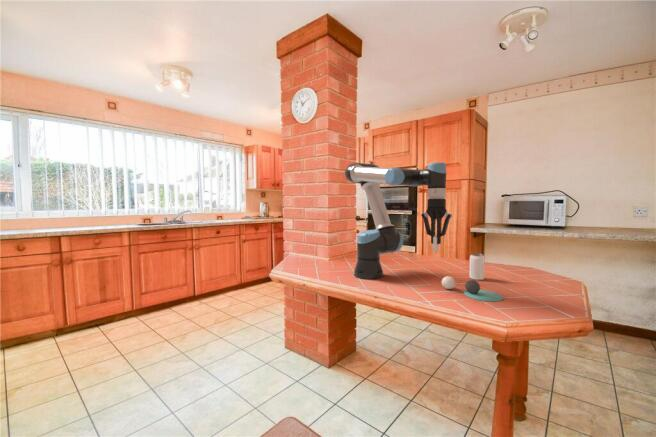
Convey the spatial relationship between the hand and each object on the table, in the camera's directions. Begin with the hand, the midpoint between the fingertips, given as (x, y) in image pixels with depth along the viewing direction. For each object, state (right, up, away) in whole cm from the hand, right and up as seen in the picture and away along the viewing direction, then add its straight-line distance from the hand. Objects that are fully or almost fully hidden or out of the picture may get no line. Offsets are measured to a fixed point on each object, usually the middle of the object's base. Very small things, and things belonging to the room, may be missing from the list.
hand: (435, 251), depth 122 cm
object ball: (+12, -14, -9) cm, 20 cm away
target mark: (+15, -17, -11) cm, 25 cm away
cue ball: (+5, -14, -2) cm, 15 cm away
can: (+25, -15, +13) cm, 32 cm away
